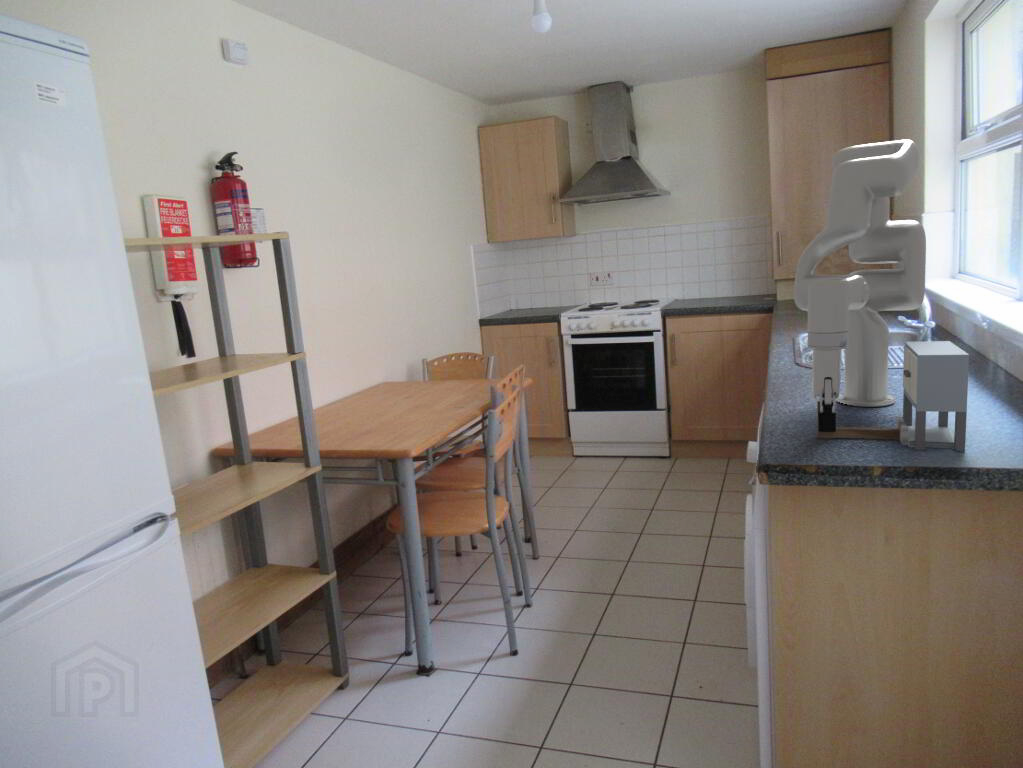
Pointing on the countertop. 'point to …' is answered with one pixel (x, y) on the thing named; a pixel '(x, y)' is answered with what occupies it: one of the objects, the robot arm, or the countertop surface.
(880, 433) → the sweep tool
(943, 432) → the hard drive
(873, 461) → the countertop surface
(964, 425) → the cabinet
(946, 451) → the countertop surface
